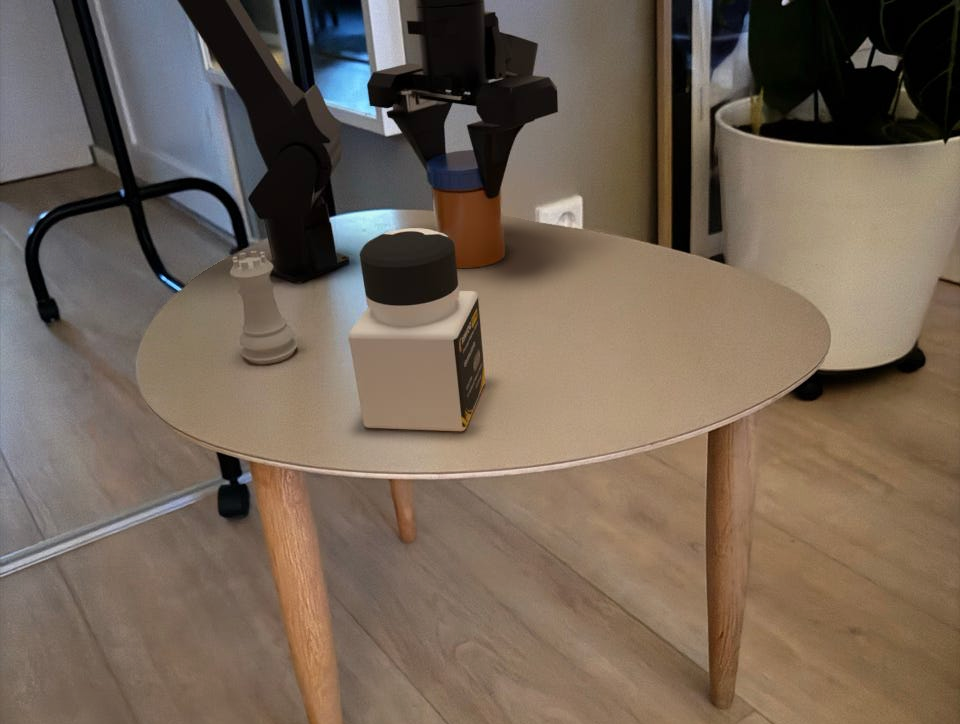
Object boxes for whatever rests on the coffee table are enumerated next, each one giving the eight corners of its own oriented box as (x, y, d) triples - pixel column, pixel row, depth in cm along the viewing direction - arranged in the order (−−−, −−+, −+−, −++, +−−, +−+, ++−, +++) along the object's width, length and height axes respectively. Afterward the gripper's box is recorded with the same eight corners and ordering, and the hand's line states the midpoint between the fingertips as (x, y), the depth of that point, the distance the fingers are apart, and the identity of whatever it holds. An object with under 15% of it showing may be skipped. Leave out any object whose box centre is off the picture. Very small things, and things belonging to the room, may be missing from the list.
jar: (425, 260, 88) (415, 171, 84) (471, 240, 92) (464, 154, 87) (472, 273, 84) (464, 181, 80) (519, 252, 88) (513, 162, 83)
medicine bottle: (465, 433, 60) (447, 258, 54) (362, 429, 62) (333, 258, 55) (486, 382, 66) (472, 218, 59) (392, 379, 68) (368, 219, 61)
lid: (436, 194, 81) (434, 174, 80) (421, 175, 86) (419, 156, 85) (511, 182, 82) (510, 163, 81) (491, 164, 87) (490, 146, 86)
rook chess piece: (282, 367, 71) (261, 268, 66) (232, 364, 72) (207, 266, 68) (308, 343, 74) (289, 247, 70) (259, 339, 76) (237, 245, 71)
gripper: (599, -9, 75) (601, 184, 83) (445, -12, 86) (460, 157, 95) (504, 12, 68) (516, 218, 77) (351, 5, 80) (377, 185, 89)
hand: (466, 191), depth 85 cm, fingers closed on lid, 7 cm apart
